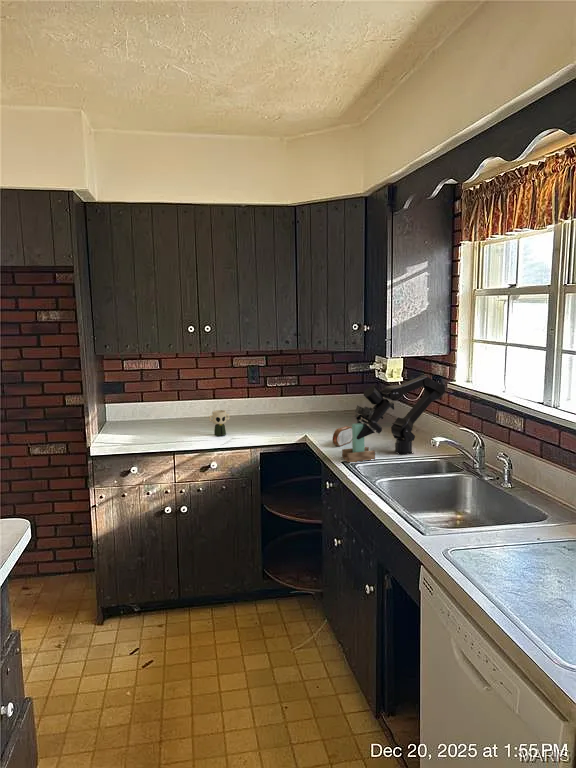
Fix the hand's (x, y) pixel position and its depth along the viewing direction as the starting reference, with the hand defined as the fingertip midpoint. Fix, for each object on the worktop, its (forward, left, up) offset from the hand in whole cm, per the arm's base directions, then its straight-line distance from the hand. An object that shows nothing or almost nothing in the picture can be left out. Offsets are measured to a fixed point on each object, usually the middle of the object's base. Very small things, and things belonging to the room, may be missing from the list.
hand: (355, 437), depth 248 cm
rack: (-1, 0, -10) cm, 10 cm away
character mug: (+50, -67, -10) cm, 84 cm away
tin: (-4, -26, -10) cm, 29 cm away
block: (-1, 0, -7) cm, 7 cm away
